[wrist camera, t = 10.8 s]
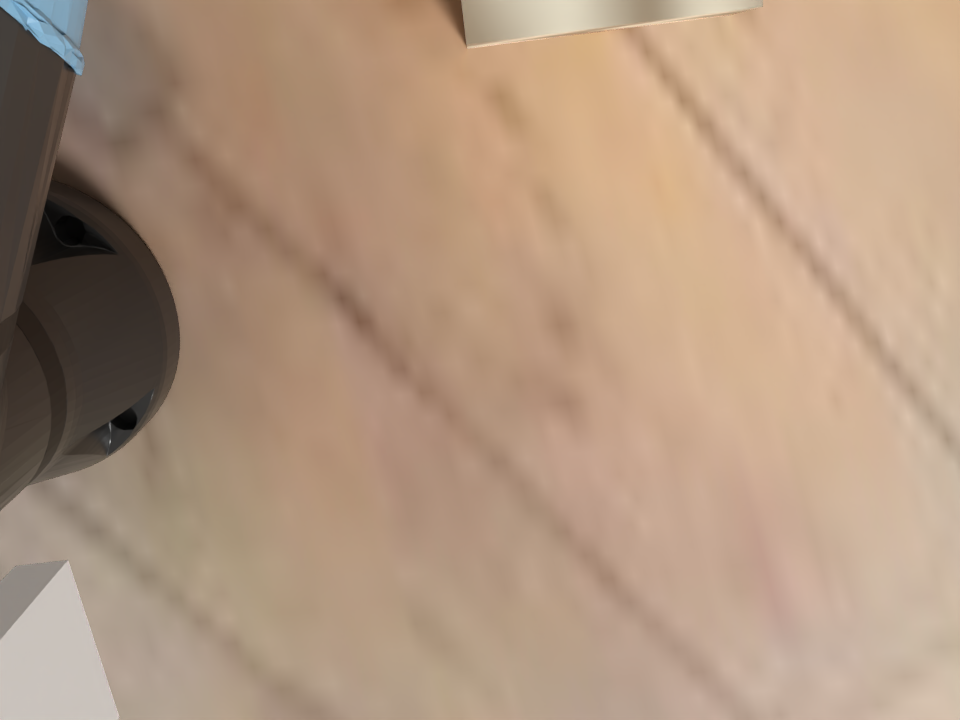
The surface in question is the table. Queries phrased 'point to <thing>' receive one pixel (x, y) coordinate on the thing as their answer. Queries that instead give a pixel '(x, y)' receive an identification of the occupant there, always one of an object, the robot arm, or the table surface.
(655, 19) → the tower base
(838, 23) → the table surface
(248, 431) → the table surface
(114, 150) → the table surface
